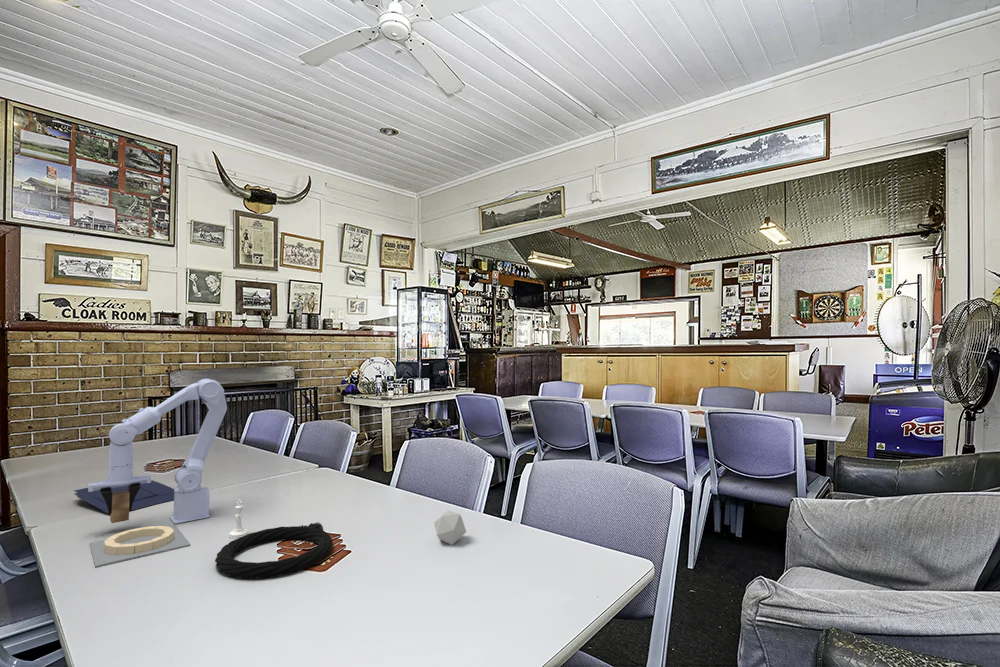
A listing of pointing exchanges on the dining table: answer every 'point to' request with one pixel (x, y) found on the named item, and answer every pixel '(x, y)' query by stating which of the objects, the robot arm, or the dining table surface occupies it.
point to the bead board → (120, 558)
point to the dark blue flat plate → (144, 497)
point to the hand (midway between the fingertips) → (119, 511)
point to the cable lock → (274, 567)
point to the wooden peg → (120, 506)
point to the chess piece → (238, 523)
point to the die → (450, 527)
